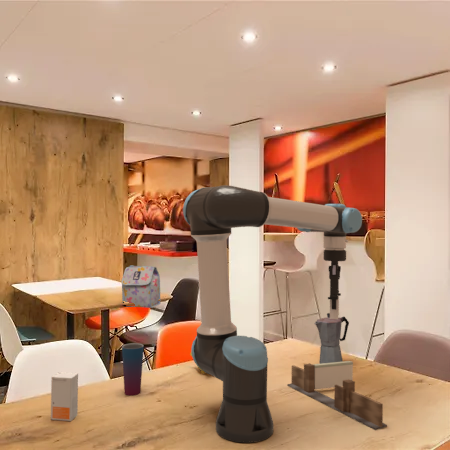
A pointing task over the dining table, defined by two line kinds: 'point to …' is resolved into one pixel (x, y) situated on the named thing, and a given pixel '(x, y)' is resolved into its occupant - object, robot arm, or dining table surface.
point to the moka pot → (330, 338)
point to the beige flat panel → (332, 374)
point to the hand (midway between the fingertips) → (334, 316)
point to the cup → (132, 368)
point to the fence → (340, 398)
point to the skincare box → (64, 396)
